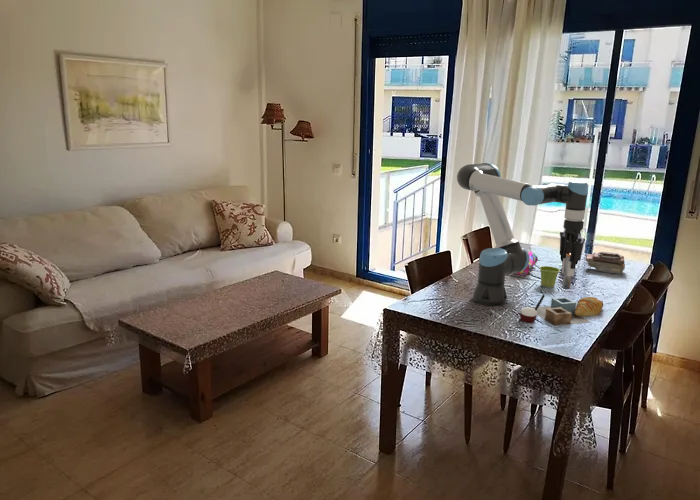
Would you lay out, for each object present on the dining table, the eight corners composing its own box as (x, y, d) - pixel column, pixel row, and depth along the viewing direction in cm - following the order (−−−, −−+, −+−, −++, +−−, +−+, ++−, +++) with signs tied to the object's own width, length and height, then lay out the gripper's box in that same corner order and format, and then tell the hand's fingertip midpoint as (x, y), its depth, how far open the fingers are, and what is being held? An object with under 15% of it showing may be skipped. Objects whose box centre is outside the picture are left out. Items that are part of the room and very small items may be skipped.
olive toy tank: (622, 278, 277) (625, 260, 275) (581, 271, 287) (583, 254, 284) (624, 271, 288) (627, 254, 286) (585, 265, 298) (587, 249, 295)
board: (554, 327, 212) (554, 325, 212) (526, 309, 231) (526, 307, 231) (590, 324, 216) (590, 322, 216) (560, 306, 235) (560, 304, 235)
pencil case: (530, 277, 276) (531, 260, 274) (511, 274, 280) (513, 258, 278) (537, 267, 294) (539, 251, 292) (519, 264, 299) (521, 249, 296)
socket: (560, 315, 223) (561, 303, 222) (550, 309, 230) (551, 298, 228) (574, 313, 225) (576, 302, 223) (564, 307, 231) (565, 297, 230)
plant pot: (554, 283, 267) (556, 266, 265) (560, 289, 258) (562, 272, 256) (535, 282, 268) (537, 265, 266) (540, 288, 259) (542, 271, 257)
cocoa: (515, 322, 216) (518, 294, 213) (518, 317, 222) (520, 290, 219) (539, 327, 212) (543, 298, 209) (542, 322, 218) (545, 294, 214)
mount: (555, 324, 214) (556, 314, 213) (545, 317, 220) (546, 308, 219) (570, 322, 215) (571, 313, 214) (559, 316, 222) (560, 307, 221)
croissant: (580, 327, 221) (591, 314, 216) (562, 310, 226) (572, 297, 221) (604, 315, 234) (615, 302, 229) (586, 299, 239) (597, 286, 234)
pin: (565, 289, 222) (569, 255, 219) (560, 287, 225) (564, 253, 222) (571, 289, 223) (575, 254, 219) (566, 286, 226) (570, 252, 222)
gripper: (595, 223, 210) (588, 279, 216) (569, 215, 225) (563, 268, 231) (579, 223, 208) (572, 280, 214) (554, 216, 223) (548, 269, 229)
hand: (567, 274), depth 223 cm, fingers closed on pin, 3 cm apart
